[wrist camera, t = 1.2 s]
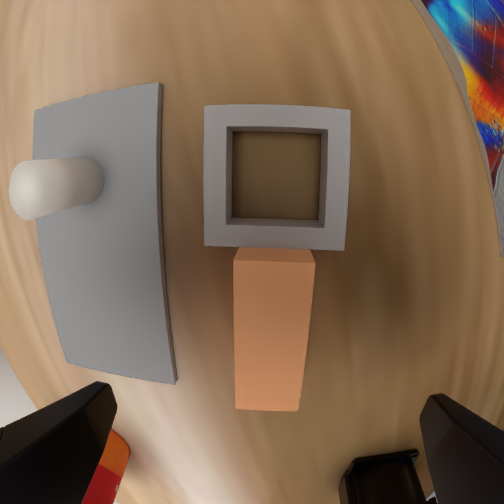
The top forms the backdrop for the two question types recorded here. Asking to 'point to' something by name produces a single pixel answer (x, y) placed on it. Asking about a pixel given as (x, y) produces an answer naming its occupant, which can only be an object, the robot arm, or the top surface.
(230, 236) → the square frame with handle
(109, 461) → the coffee cup
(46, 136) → the keeper
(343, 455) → the top surface
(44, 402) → the top surface
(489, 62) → the multicolored flat slab
